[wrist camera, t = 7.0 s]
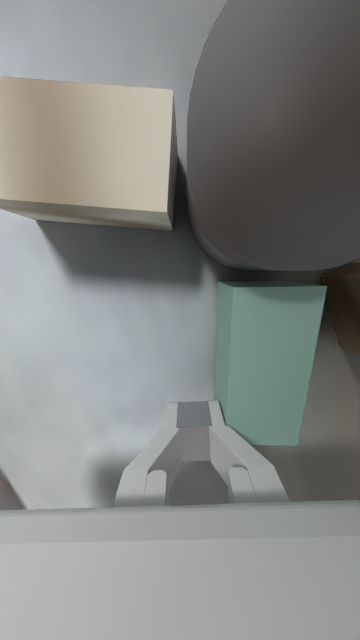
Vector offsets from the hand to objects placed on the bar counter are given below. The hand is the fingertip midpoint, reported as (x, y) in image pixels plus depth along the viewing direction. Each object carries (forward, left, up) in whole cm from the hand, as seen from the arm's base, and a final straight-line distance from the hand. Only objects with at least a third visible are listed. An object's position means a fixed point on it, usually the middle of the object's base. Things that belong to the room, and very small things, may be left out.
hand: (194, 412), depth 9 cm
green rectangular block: (-2, +4, -1) cm, 4 cm away
